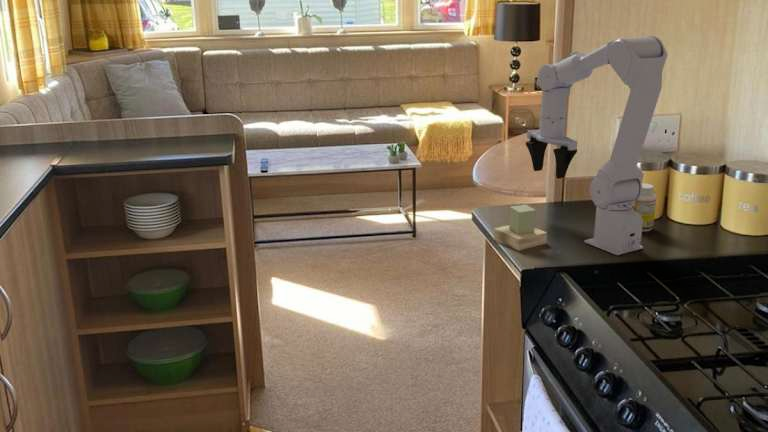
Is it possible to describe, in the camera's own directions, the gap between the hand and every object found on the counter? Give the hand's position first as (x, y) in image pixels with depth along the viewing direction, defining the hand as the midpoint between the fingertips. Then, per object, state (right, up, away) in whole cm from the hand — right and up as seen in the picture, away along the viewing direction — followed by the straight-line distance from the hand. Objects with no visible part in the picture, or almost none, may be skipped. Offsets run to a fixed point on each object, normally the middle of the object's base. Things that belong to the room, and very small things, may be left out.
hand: (549, 174), depth 186 cm
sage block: (-9, -13, -14) cm, 21 cm away
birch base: (-9, -16, -13) cm, 23 cm away
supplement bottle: (+20, -13, -5) cm, 24 cm away
